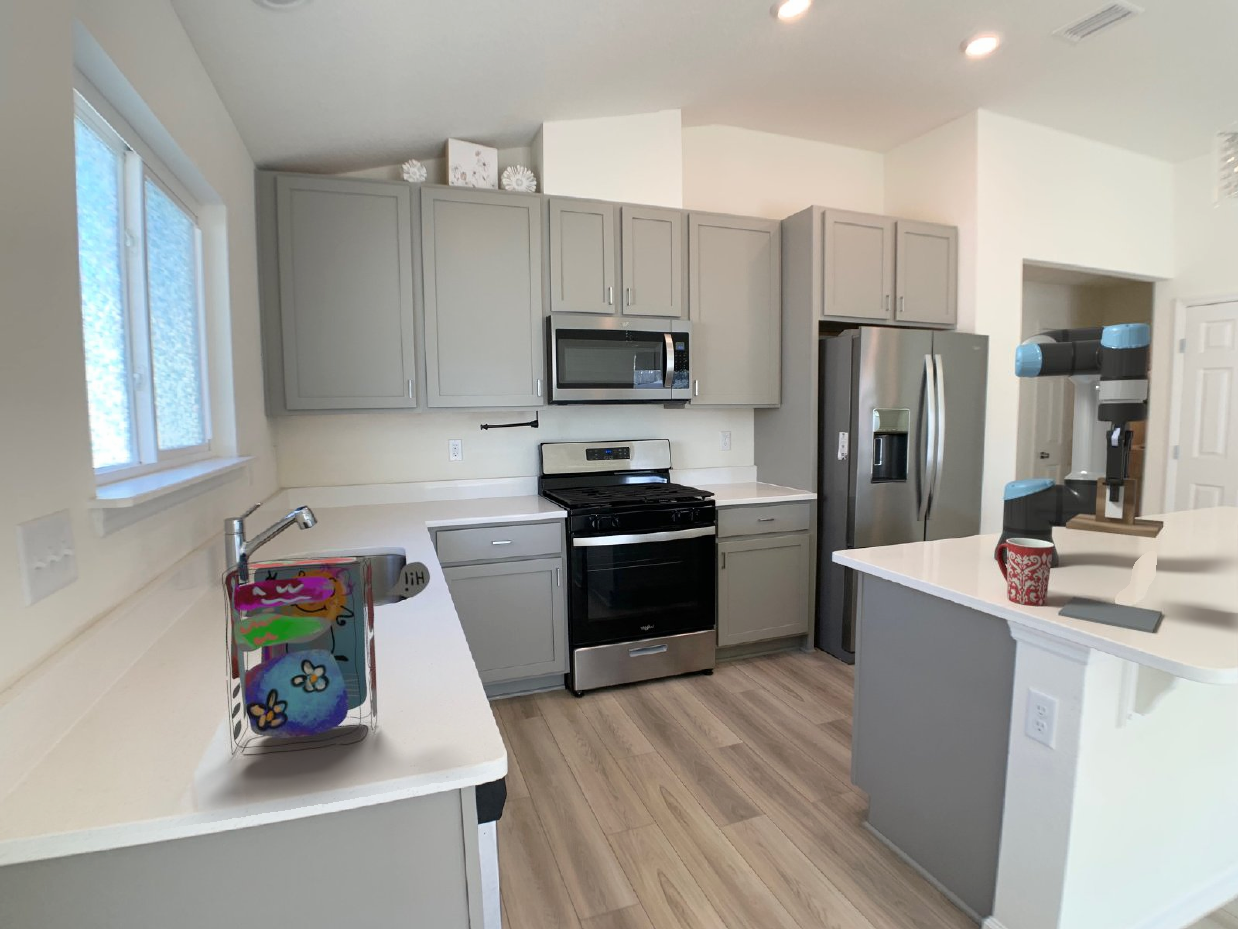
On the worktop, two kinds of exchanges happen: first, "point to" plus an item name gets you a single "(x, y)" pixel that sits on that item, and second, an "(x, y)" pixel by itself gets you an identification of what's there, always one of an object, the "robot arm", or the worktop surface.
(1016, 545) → the mug
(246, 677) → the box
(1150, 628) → the mat
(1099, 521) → the wooden base stand
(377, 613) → the worktop surface
